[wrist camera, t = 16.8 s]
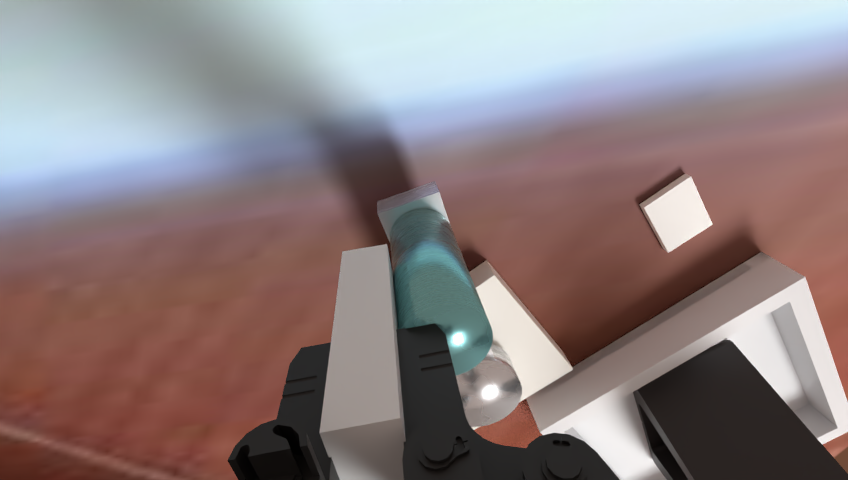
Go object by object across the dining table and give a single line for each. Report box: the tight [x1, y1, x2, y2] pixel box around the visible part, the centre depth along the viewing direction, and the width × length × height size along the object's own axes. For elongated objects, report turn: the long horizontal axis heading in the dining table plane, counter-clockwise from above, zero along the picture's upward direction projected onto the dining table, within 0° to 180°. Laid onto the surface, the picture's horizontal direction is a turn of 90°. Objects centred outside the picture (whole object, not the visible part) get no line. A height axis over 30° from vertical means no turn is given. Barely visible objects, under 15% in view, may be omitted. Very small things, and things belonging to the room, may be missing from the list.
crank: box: [377, 181, 522, 427], centre depth 16 cm, size 12×4×7 cm, turn 18°
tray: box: [526, 252, 848, 480], centre depth 26 cm, size 15×15×2 cm
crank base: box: [469, 174, 713, 430], centre depth 21 cm, size 18×8×1 cm, turn 128°
